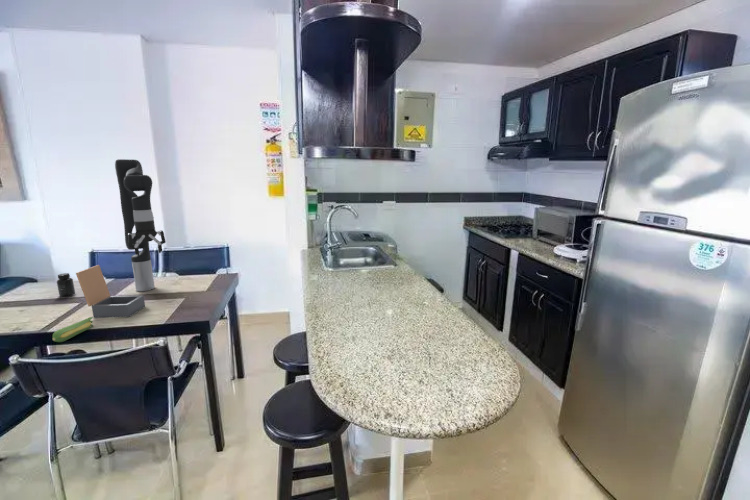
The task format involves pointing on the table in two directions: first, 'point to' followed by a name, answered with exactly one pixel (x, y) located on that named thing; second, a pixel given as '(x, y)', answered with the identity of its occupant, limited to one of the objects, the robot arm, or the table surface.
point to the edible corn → (72, 330)
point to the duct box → (118, 306)
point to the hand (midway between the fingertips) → (149, 254)
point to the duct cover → (93, 285)
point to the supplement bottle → (65, 285)
